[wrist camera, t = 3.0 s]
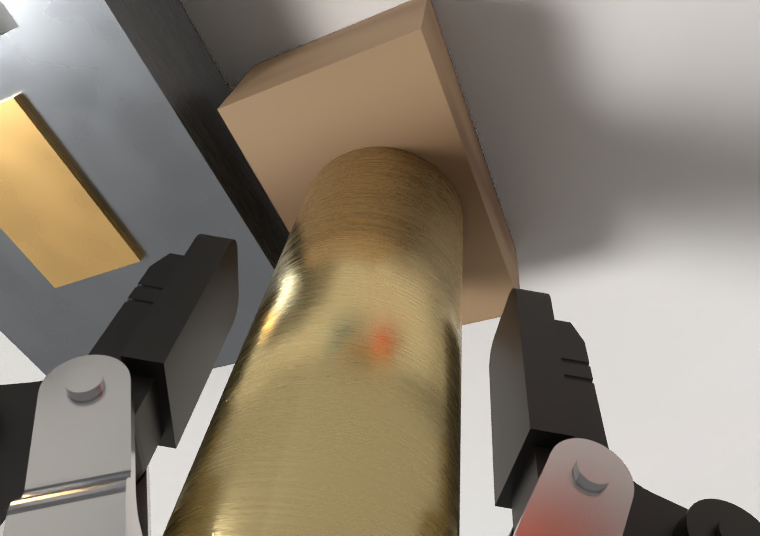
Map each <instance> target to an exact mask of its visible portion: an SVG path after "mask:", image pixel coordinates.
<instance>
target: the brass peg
mask: <svg viewBox="0 0 760 536" xmlns="http://www.w3.org/2000/svg"><path fill="white" fill-rule="evenodd" d="M462 263H463V211H462V205H461V202H460V199H459V196H458V194H457V192H456V190H455V188H454V186H453V185H452V183H451V182H450V180H449V179H448V178H447V177H446V176H445V174H444V173H443V172H442V171H441V170H439V169H438V168H437V167H436V166H435V165H433V164H432V163H430V162H429V161H428V160H426V159H424V158H422V157H420V156H418V155H416V154H414V153H411V152H408V151H405V150H401V149H397V148H391V147H367V148H360V149H356V150H353V151H349V152H347V153H345V154H342V155H340V156H338V157H337V158H335V159H333V160H332V161H330V162H329V163H328V164H327V165H325V166H324V167H323V168H322V169H321V170H320V172H319V173H318V174H317V175H316V177H315V178H314V180H313V181H312V183H311V185H310V187H309V190H308V192H307V194H306V197H305V199H304V201H303V204H302V206H301V209H300V211H299V213H298V216H297V218H296V220H295V223H294V225H293V228H292V230H291V232H290V235H289V237H288V239H287V242H286V244H285V247H284V249H283V251H282V254H281V256H280V258H279V261H278V263H277V266H276V268H275V270H274V273H273V275H272V277H271V280H270V282H269V285H268V287H267V289H266V292H265V294H264V296H263V299H262V301H261V304H260V306H259V308H258V311H257V313H256V315H255V318H254V320H253V323H252V325H251V327H250V330H249V332H248V334H247V337H246V339H245V341H244V344H243V346H242V349H241V351H240V353H239V356H238V358H237V360H236V363H235V365H234V368H233V370H232V372H231V375H230V377H229V379H228V382H227V384H226V387H225V389H224V391H223V394H222V396H221V398H220V401H219V403H218V406H217V408H216V410H215V413H214V415H213V417H212V420H211V422H210V425H209V427H208V429H207V432H206V434H205V436H204V439H203V441H202V444H201V446H200V448H199V451H198V453H197V455H196V458H195V460H194V463H193V465H192V467H191V470H190V472H189V474H188V477H187V479H186V482H185V484H184V486H183V489H182V491H181V493H180V496H179V498H178V500H177V503H176V505H175V508H174V510H173V512H172V515H171V517H170V519H169V522H168V524H167V527H166V529H165V531H164V534H163V536H459V520H460V435H461V349H462Z"/></svg>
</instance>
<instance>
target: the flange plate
mask: <svg viewBox="0 0 760 536" xmlns="http://www.w3.org/2000/svg"><path fill="white" fill-rule="evenodd" d="M1 2H2V3H3V5H4V6H5V7H6V9H7V10H8V11H9V13H10V14H11V16H12V17H13V18H14V20H15V21H16V23H17V24H18V25H19V26H18V27H16V28H14V29H12V30H11V31H9V32H7V33H5V34H3V35H1V36H0V331H1V332H2V333H3V334H4V335H5V336H6V337H7V338H8V339H9V340H10V341H11V342H12V343H13V344H15V345H16V346H17V347H18V348H19V349H20V350H21V351H22V352H23V353H24V354H25V355H26V356H27V357H28V358H29V359H30V360H31V361H32V362H33V363H34V364H35V365H36V366H37V367H38V368H39V369H40V370H41V371H42V372H43V373H44V374H45V375H46V376H47V375H48V374H49V373H50V372H51V371H52V370H53V369H55V368H56V367H57V366H59V365H61V364H62V363H64V362H66V361H69V360H71V359H74V358H77V357H80V356H86V355H88V354H89V353H90V351H91V350H92V348H93V347H94V346H95V344H96V343H97V341H98V340H99V338H100V337H101V336H102V334H103V333H104V331H105V330H106V328H107V327H108V325H109V324H110V323H111V321H112V320H113V318H114V317H115V315H116V314H117V313H118V311H119V310H120V308H121V307H122V305H123V304H124V302H127V300H128V297H129V295H130V294H131V292H132V291H133V290H134V288H135V287H137V285H138V282H139V281H140V280H141V278H142V277H143V275H144V274H145V272H146V271H147V269H148V268H149V267H150V266H151V265H153V264H154V263H156V262H157V261H159V260H160V259H162V258H163V257H165V256H166V255H168V254H169V253H173V254H179V255H185V253H186V252H187V250H188V249H189V247H190V245H191V244H192V242H193V241H194V239H195V238H196V236H197V235H198V234H205V235H211V236H217V237H223V238H229V239H235V240H236V242H237V248H238V283H239V300H238V307H237V312H236V316H235V319H234V322H233V325H232V327H231V329H230V331H229V333H228V336H227V338H226V340H225V342H224V344H223V347H222V349H221V351H220V353H219V355H218V358H217V360H216V362H215V364H214V366H213V368H217V367H221V366H226V365H230V364H235V363H236V360H237V358H238V356H239V353H240V351H241V349H242V346H243V344H244V341H245V339H246V337H247V334H248V332H249V330H250V327H251V325H252V323H253V320H254V318H255V315H256V313H257V311H258V308H259V306H260V304H261V301H262V299H263V296H264V294H265V292H266V289H267V287H268V285H269V282H270V280H271V277H272V275H273V273H274V270H275V268H276V266H277V263H278V261H279V258H280V256H281V254H282V251H283V249H284V247H285V244H286V242H287V239H288V237H289V235H290V232H289V231H288V229H287V227H286V226H285V224H284V222H283V221H282V219H281V217H280V215H279V214H278V212H277V210H276V209H275V207H274V205H273V204H272V202H271V200H270V198H269V197H268V195H267V193H266V192H265V190H264V188H263V187H262V185H261V183H260V181H259V180H258V178H257V176H256V175H255V173H254V171H253V170H252V168H251V166H250V164H249V163H248V161H247V159H246V158H245V156H244V154H243V152H242V151H241V149H240V147H239V146H238V144H237V142H236V141H235V139H234V137H233V135H232V134H231V132H230V130H229V129H228V127H227V125H226V124H225V122H224V120H223V118H222V117H221V115H220V113H219V112H218V110H217V109H218V108H219V107H220V105H221V104H222V103H223V102H224V101H225V99H226V98H227V97H228V96H229V95H230V93H231V92H230V90H229V88H228V86H227V85H226V83H225V81H224V79H223V78H222V76H221V74H220V72H219V70H218V69H217V67H216V65H215V63H214V62H213V60H212V58H211V56H210V55H209V53H208V51H207V49H206V47H205V46H204V44H203V42H202V40H201V39H200V37H199V35H198V33H197V32H196V30H195V28H194V26H193V24H192V23H191V21H190V19H189V17H188V16H187V14H186V12H185V10H184V9H183V7H182V5H181V3H180V1H179V0H1Z"/></svg>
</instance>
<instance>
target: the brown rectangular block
mask: <svg viewBox="0 0 760 536" xmlns="http://www.w3.org/2000/svg"><path fill="white" fill-rule="evenodd" d="M217 110H218V112H219V113H220V115H221V117H222V118H223V120H224V122H225V124H226V125H227V127H228V129H229V130H230V132H231V134H232V135H233V137H234V139H235V141H236V142H237V144H238V146H239V147H240V149H241V151H242V152H243V154H244V156H245V158H246V159H247V161H248V163H249V164H250V166H251V168H252V170H253V171H254V173H255V175H256V176H257V178H258V180H259V181H260V183H261V185H262V187H263V188H264V190H265V192H266V193H267V195H268V197H269V198H270V200H271V202H272V204H273V205H274V207H275V209H276V210H277V212H278V214H279V215H280V217H281V219H282V221H283V222H284V224H285V226H286V227H287V229H288V231H289V232H291V230H292V228H293V225H294V223H295V220H296V218H297V216H298V213H299V211H300V209H301V206H302V204H303V201H304V199H305V197H306V194H307V192H308V190H309V187H310V185H311V183H312V181H313V180H314V178H315V177H316V175H317V174H318V173H319V172H320V170H321V169H322V168H323V167H324V166H325V165H327V164H328V163H329V162H330V161H332V160H333V159H335V158H337V157H338V156H340V155H342V154H345V153H347V152H349V151H353V150H356V149H360V148H367V147H391V148H397V149H401V150H405V151H408V152H411V153H414V154H416V155H418V156H420V157H422V158H424V159H426V160H428V161H429V162H430V163H432V164H433V165H435V166H436V167H437V168H438V169H439V170H441V171H442V172H443V173H444V174H445V176H446V177H447V178H448V179H449V180H450V182H451V183H452V185H453V186H454V188H455V190H456V192H457V194H458V196H459V199H460V202H461V205H462V211H463V263H462V325H465V324H470V323H474V322H479V321H483V320H488V319H492V318H497V317H501V316H502V313H503V310H504V307H505V305H506V302H507V299H508V296H509V293H510V291H511V290H512V289H513V288H517V289H520V285H519V276H518V267H517V259H516V250H515V246H514V243H513V240H512V237H511V234H510V231H509V228H508V226H507V223H506V220H505V217H504V214H503V211H502V208H501V205H500V202H499V199H498V196H497V193H496V190H495V187H494V185H493V182H492V179H491V176H490V173H489V170H488V167H487V164H486V161H485V158H484V155H483V152H482V149H481V147H480V144H479V141H478V138H477V135H476V132H475V129H474V126H473V123H472V120H471V117H470V114H469V111H468V108H467V106H466V103H465V100H464V97H463V94H462V91H461V88H460V85H459V82H458V79H457V76H456V73H455V70H454V67H453V65H452V62H451V59H450V56H449V53H448V50H447V47H446V44H445V41H444V38H443V35H442V32H441V29H440V27H439V24H438V21H437V18H436V15H435V12H434V9H433V6H432V3H431V0H411V1H408V2H406V3H404V4H401V5H399V6H396V7H394V8H392V9H389V10H387V11H384V12H382V13H380V14H377V15H375V16H372V17H370V18H367V19H365V20H363V21H360V22H358V23H355V24H353V25H351V26H348V27H346V28H343V29H341V30H339V31H336V32H334V33H331V34H329V35H326V36H324V37H322V38H319V39H317V40H314V41H312V42H310V43H307V44H305V45H302V46H300V47H298V48H295V49H293V50H290V51H288V52H286V53H283V54H281V55H278V56H276V57H273V58H271V59H269V60H266V61H264V62H261V63H259V64H257V65H254V66H253V67H252V68H251V70H250V71H249V72H248V73H247V74H246V76H245V77H244V78H243V79H242V80H241V82H240V83H239V84H238V85H237V86H236V87H235V89H234V90H233V91H232V92H231V93H230V95H229V96H228V97H227V98H226V99H225V101H224V102H223V103H222V104H221V105H220V107H219V108H218V109H217Z"/></svg>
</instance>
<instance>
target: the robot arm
mask: <svg viewBox="0 0 760 536" xmlns="http://www.w3.org/2000/svg"><path fill="white" fill-rule="evenodd" d="M238 300H239V283H238V248H237V242H236V240H235V239H229V238H223V237H217V236H211V235H205V234H198V235H197V236H196V238H195V239H194V241H193V242H192V244H191V245H190V247H189V249H188V250H187V252H186V253H185V255H179V254H173V253H169V254H168V255H166V256H165V257H163V258H162V259H160V260H159V261H157V262H156V263H154V264H153V265H151V266H150V267H149V268H148V269H147V271H146V272H145V274H144V275H143V277H142V278H141V280H140V281H139V282H138V285H137V287H135V288H134V290H133V291H132V292H131V294H130V295H129V297H128V300H127V302H124V304H123V305H122V307H121V308H120V310H119V311H118V313H117V314H116V315H115V317H114V318H113V320H112V321H111V323H110V324H109V325H108V327H107V328H106V330H105V331H104V333H103V334H102V336H101V337H100V338H99V340H98V341H97V343H96V344H95V346H94V347H93V348H92V350H91V351H90V353H89V354H88V355H86V356H80V357H77V358H74V359H71V360H69V361H66V362H64V363H62V364H61V365H59V366H57V367H56V368H55V369H53V370H52V371H51V372H50V373H49V374H48V375H47V376H46V377H45V379H44V380H43V381H38V382H31V383H19V384H8V385H0V525H1V524H2V523H3V521H4V520H5V519H6V520H5V526H4V532H3V536H151V513H150V480H149V467H148V464H149V462H150V460H151V458H152V456H153V454H154V452H155V450H156V448H157V446H158V445H159V446H165V447H171V448H176V447H177V445H178V443H179V441H180V439H181V437H182V434H183V432H184V430H185V428H186V426H187V423H188V421H189V419H190V417H191V415H192V412H193V410H194V408H195V406H196V404H197V401H198V399H199V397H200V395H201V393H202V390H203V388H204V386H205V384H206V382H207V379H208V377H209V375H210V373H211V371H212V369H213V366H214V364H215V362H216V360H217V358H218V355H219V353H220V351H221V349H222V347H223V344H224V342H225V340H226V338H227V336H228V333H229V331H230V329H231V327H232V325H233V322H234V319H235V316H236V312H237V307H238ZM489 374H490V398H491V422H492V446H493V470H494V494H495V506H499V507H504V508H510V509H512V515H513V528H512V530H511V531H510V533H509V535H508V536H760V522H759V521H758V520H757V519H756V518H754V517H753V516H752V515H751V514H749V513H748V512H746V511H745V510H743V509H742V508H740V507H738V506H736V505H734V504H732V503H729V502H726V501H723V500H719V499H704V500H700V501H698V502H696V503H694V504H693V505H692V506H691V507H690V509H689V510H688V509H686V508H684V507H682V506H679V505H677V504H675V503H673V502H671V501H669V500H667V499H664V498H662V497H660V496H658V495H656V494H654V493H652V492H650V491H648V490H646V489H644V488H642V487H641V486H639V485H638V484H636V483H635V482H634V481H633V479H632V476H631V474H630V472H629V470H628V468H627V467H626V465H625V464H624V463H623V461H622V460H621V459H620V458H619V457H618V456H617V455H616V454H615V453H613V452H612V451H611V450H609V448H608V444H607V440H606V435H605V431H604V427H603V422H602V418H601V413H600V409H599V404H598V400H597V395H596V391H595V386H594V383H592V380H593V377H592V373H591V368H590V366H589V359H588V355H587V351H586V346H585V342H584V341H583V339H582V338H581V336H580V335H579V334H578V332H577V331H576V329H575V328H574V327H573V325H572V324H571V323H570V322H564V321H559V320H554V314H553V309H552V303H551V298H550V295H549V294H546V293H540V292H534V291H528V290H523V289H517V288H513V289H512V290H511V291H510V293H509V296H508V299H507V302H506V305H505V307H504V310H503V313H502V316H501V319H500V322H499V325H498V328H497V331H496V334H495V337H494V340H493V343H492V348H491V353H490V362H489Z"/></svg>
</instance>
